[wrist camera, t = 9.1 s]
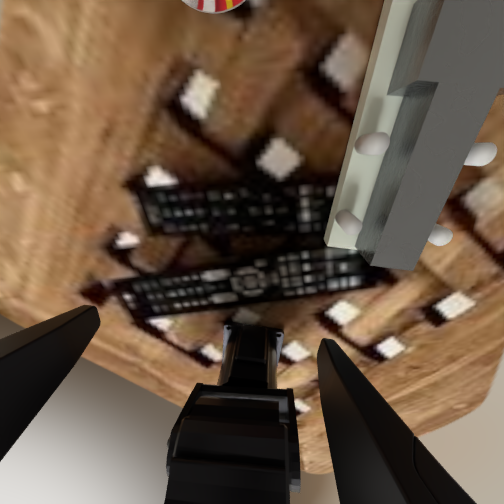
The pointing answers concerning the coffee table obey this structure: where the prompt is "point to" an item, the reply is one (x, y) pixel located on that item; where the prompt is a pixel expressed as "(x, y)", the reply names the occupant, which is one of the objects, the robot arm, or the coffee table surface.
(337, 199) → the rack
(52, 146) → the coffee table surface
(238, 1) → the soda can
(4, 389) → the robot arm
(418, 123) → the grey t-shaped plate
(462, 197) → the coffee table surface
